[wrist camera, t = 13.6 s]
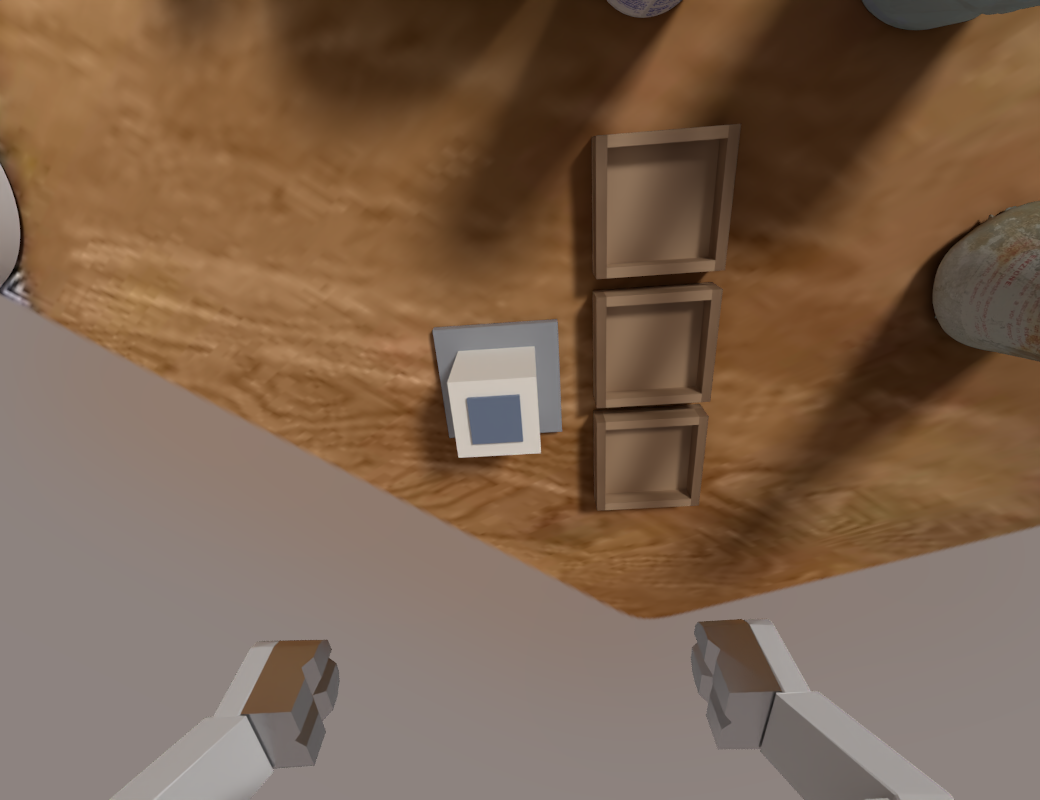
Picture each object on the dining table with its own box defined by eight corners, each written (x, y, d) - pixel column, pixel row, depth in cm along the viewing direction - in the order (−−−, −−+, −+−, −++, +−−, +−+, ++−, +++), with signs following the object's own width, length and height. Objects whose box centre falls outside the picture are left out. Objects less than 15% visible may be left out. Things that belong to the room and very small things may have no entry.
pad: (450, 433, 35) (449, 437, 35) (434, 327, 32) (432, 330, 31) (561, 427, 35) (561, 431, 34) (557, 319, 32) (557, 321, 31)
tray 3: (593, 495, 38) (597, 510, 36) (593, 410, 34) (596, 422, 33) (691, 490, 37) (698, 505, 36) (699, 404, 34) (708, 416, 32)
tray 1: (592, 272, 30) (596, 279, 29) (591, 136, 27) (595, 135, 25) (714, 264, 30) (724, 270, 28) (728, 125, 27) (741, 123, 25)
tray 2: (593, 396, 34) (596, 408, 32) (592, 290, 31) (596, 297, 29) (701, 389, 34) (710, 401, 32) (712, 282, 30) (722, 289, 29)
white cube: (467, 418, 34) (458, 459, 29) (458, 351, 32) (446, 384, 27) (538, 414, 34) (541, 454, 29) (534, 346, 32) (536, 378, 27)
